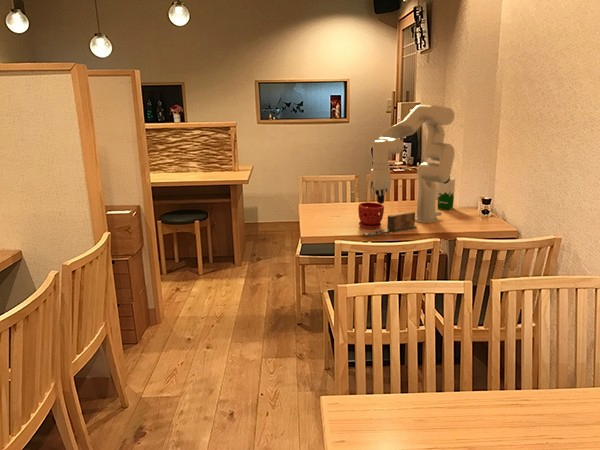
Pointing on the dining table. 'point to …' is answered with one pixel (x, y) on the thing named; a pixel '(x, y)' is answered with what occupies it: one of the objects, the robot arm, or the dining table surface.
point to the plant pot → (370, 215)
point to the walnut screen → (401, 221)
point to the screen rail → (387, 231)
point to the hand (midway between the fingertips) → (380, 202)
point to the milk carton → (446, 194)
